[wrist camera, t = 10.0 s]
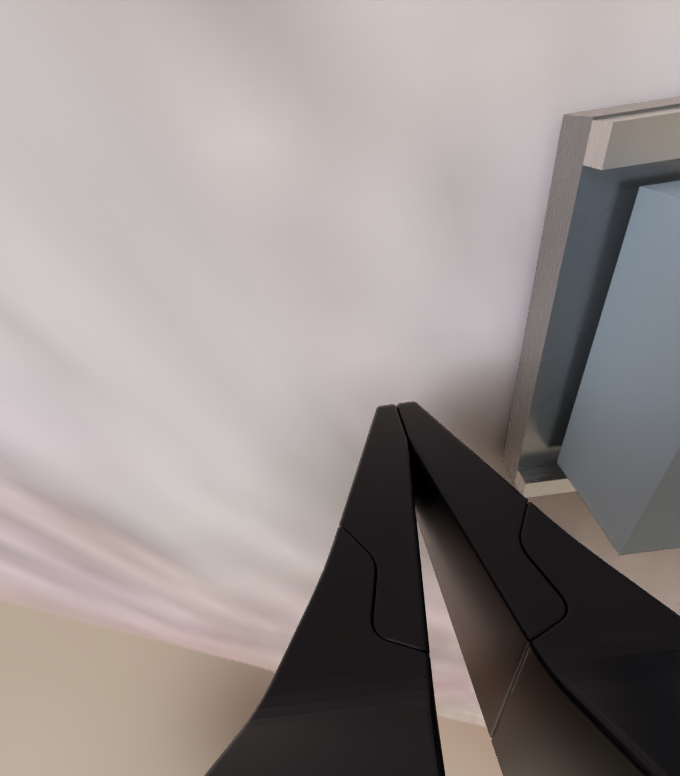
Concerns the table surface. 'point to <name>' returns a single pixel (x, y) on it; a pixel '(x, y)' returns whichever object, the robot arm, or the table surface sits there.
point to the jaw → (634, 388)
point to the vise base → (580, 271)
